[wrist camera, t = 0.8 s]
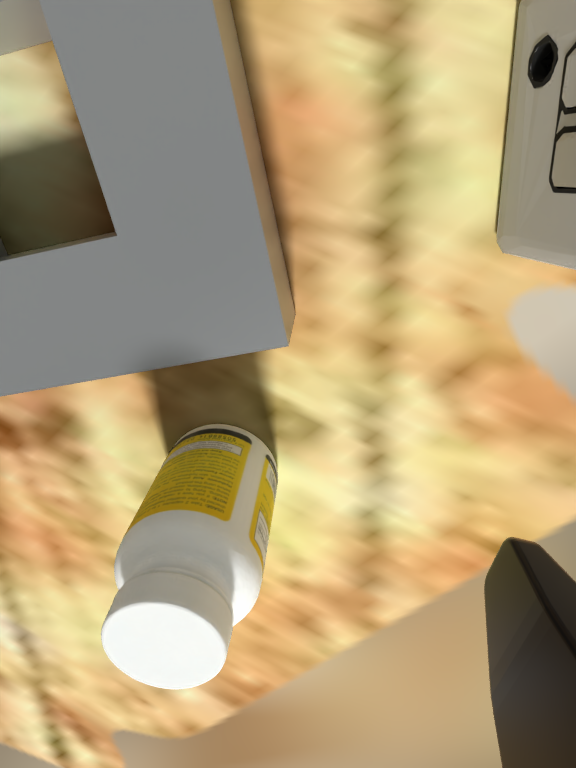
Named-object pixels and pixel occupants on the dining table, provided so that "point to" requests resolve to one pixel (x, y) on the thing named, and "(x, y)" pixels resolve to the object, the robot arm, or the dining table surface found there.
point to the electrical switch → (541, 138)
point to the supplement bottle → (192, 558)
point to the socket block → (148, 201)
